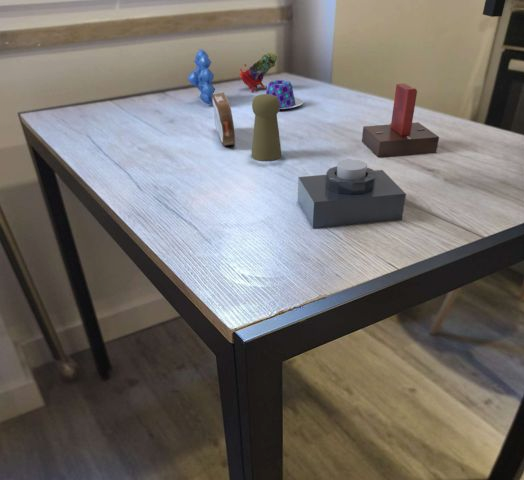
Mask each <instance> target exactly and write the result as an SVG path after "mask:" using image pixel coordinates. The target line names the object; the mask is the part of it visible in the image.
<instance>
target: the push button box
mask: <svg viewBox="0 0 524 480" xmlns="http://www.w3.org/2000/svg"><path fill="white" fill-rule="evenodd" d="M297 179H298V180H297V203H298V205H299V207H300V209H301V211H302V212H303V214H304V216H305V217H306V219H307V222H308V223H309V224H310V226H311V228H312V229H313V230H314V229H323V228H335V227H345V226H354V225H365V224H375V223H385V222H396V221H402V220H403V215H404V208H405V203H406V196H407V193H406V192H405V191H404V190H403V189H402V187H400V186H399V185H398V184H397V183H396V182H395V181H394V180H393V179H392V178H391V177H390V176H389V175H388V174H387V173H386V172H385V170H383V169H376V170H374V169H372V168H370V167H367V170H366V177H365V178H362V179H357V180H348V179H342V178H339V177H337V165H336V166H333V167H331V168H328V170H327V171H326V173H325V174H319V175H307V176H298V178H297Z"/></svg>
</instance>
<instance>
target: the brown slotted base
mask: <svg viewBox="0 0 524 480" xmlns="http://www.w3.org/2000/svg"><path fill="white" fill-rule="evenodd" d="M439 141H440V136H439V135H438V134H436V133H435V132H433V131H432V130H430V129H428V128H427V127H426V126H424V125H423V124H421V123H420V122H412V127H411V133H410V135H409V136H401V135H400V134H399V133H397V132H396V131H395V130H394V129H392V128H391V122H390V123H389V124H377V125H376V124H375V125H365V126H363V127H362V136H361V142H362V143H363V144H364V146H366V147H367V148H368V149H369V150H370V151H371V152H372V153H373V154H374V155H375V156H376V157H377V158H386V157H387V158H388V157H389V158H390V157H399V156H400V157H401V156H411V155H412V156H413V155H423V154H436V153H437V150H438V145H439Z"/></svg>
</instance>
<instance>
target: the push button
mask: <svg viewBox="0 0 524 480" xmlns="http://www.w3.org/2000/svg"><path fill="white" fill-rule="evenodd" d="M336 166H337V177H339V178H342V179H348V180H357V179H362V178H365V177H366V170H367V168H368V164H367V163H366V162H365V161H363V160H360V159H352V158H351V159H342V160H340V161H338V162H337V165H336Z"/></svg>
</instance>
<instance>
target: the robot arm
mask: <svg viewBox="0 0 524 480" xmlns="http://www.w3.org/2000/svg"><path fill="white" fill-rule="evenodd" d="M505 4H506V0H485V2H484V6H483V11H482V16H483V15H484V16H487V17H490V18H495V17H498V18H499V17H502V16H503V12H504V8H505Z"/></svg>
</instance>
